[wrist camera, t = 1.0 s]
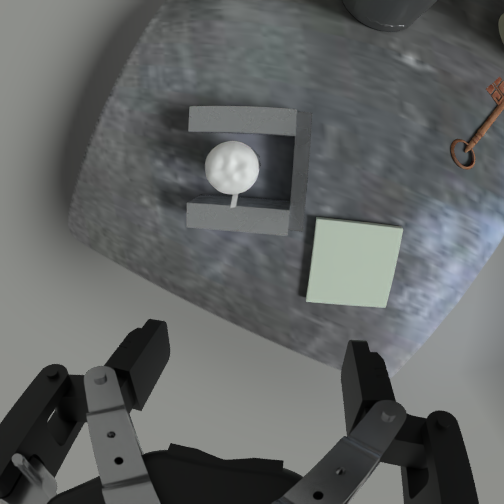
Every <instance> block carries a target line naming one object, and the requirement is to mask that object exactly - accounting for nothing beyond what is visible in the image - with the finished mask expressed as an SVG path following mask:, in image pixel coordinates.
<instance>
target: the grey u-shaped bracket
mask: <svg viewBox="0 0 504 504" xmlns="http://www.w3.org/2000/svg"><path fill="white" fill-rule="evenodd" d="M311 125H312V113H308V112H297V109H287V108H271V107H249V106H190V108H189V129H188V132H200V133H237V134H259V135H275V136H289V137H295V145H294V159H293V173H292V186H291V199H290V201H286V200H275V199H262V198H249V197H238V198H237V203H236V208H230V206H231V201H232V196H220V195H203V194H201V195H199V196H197V197H196V198H194V199H192V200H191V201H189V202H187V227H189V228H202V229H214V230H226V231H238V232H249V233H261V234H272V235H282V236H287V235H288V230H290V231H301V232H303V222H304V212H305V201H306V190H307V179H308V167H309V154H310V140H311Z"/></svg>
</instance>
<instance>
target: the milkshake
mask: <svg viewBox="0 0 504 504" xmlns="http://www.w3.org/2000/svg"><path fill="white" fill-rule="evenodd" d="M260 166H261V163H260V156H259V155H258V154H257V152H256V151H255V150H254V149H252V148H250V147H249V146H247V145H245V144H243V143H241V142H238V141H227V142H223V143H221V144H219V145H217V146H216V147H215V148H213V149H212V150H211V152H210V153H209V154H208V156H207V158H206V162H205V172H206V177H207V179H208V181H209V183H210V184H211V185H212V186H213V187H214V188H215V189H216V190H218V191H219V192H221V193H224V194H233V196H232V201H231V206H230V208H236V203H237V198H238V194H239V193H242V192H245V191H246V190H248V189H249V188H250V187H251V186H252V185H253V184H254V183H255V181H256V179H257V177H258V173H259V168H260Z"/></svg>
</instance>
